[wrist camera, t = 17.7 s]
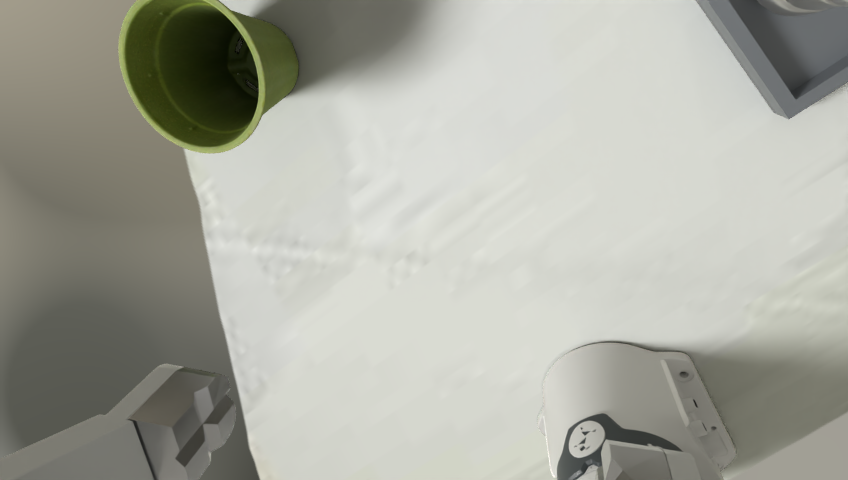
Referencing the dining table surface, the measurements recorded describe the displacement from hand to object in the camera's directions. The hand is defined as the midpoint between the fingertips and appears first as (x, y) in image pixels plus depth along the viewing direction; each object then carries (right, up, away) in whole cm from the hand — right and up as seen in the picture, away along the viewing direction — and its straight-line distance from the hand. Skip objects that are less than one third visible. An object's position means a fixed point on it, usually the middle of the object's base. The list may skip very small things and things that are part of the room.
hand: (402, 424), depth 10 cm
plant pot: (-14, +21, +35) cm, 44 cm away
